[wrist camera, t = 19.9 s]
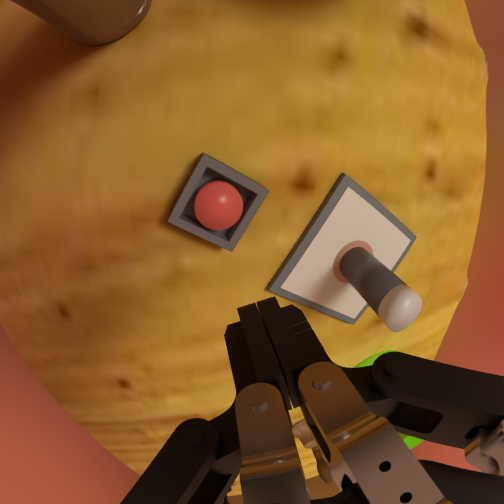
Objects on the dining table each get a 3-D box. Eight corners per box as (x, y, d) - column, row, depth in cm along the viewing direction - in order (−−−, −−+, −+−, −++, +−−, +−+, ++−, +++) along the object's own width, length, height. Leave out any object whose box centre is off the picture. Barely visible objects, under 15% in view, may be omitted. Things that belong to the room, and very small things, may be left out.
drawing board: (266, 286, 33) (269, 291, 32) (342, 172, 29) (347, 174, 28) (351, 321, 39) (354, 325, 38) (413, 235, 35) (418, 238, 34)
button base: (169, 213, 27) (167, 221, 25) (202, 152, 25) (203, 154, 23) (228, 242, 30) (232, 252, 27) (263, 185, 28) (269, 191, 26)
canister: (332, 269, 33) (380, 325, 23) (354, 240, 32) (410, 289, 22) (354, 282, 35) (401, 335, 25) (374, 256, 33) (428, 303, 24)
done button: (186, 209, 27) (186, 217, 24) (208, 170, 25) (209, 174, 23) (224, 228, 28) (227, 237, 26) (246, 191, 27) (251, 197, 25)
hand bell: (315, 431, 55) (337, 482, 41) (284, 436, 53) (304, 492, 39) (329, 413, 52) (356, 469, 38) (296, 419, 50) (320, 480, 36)
